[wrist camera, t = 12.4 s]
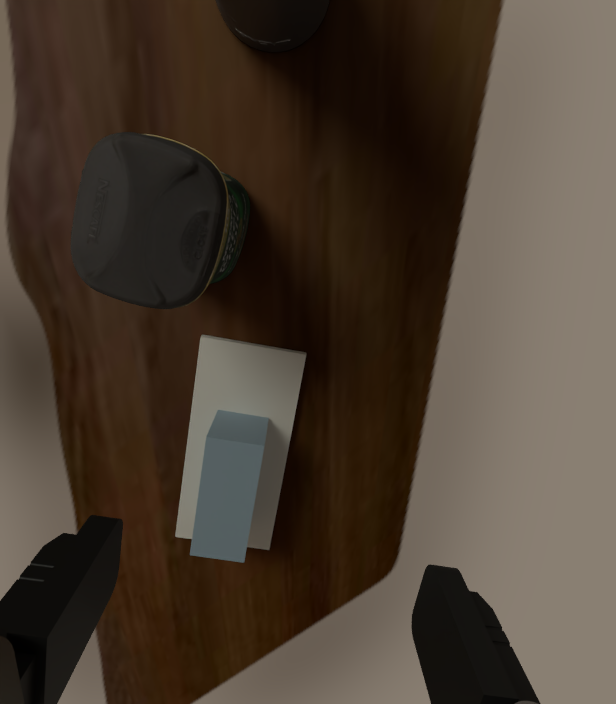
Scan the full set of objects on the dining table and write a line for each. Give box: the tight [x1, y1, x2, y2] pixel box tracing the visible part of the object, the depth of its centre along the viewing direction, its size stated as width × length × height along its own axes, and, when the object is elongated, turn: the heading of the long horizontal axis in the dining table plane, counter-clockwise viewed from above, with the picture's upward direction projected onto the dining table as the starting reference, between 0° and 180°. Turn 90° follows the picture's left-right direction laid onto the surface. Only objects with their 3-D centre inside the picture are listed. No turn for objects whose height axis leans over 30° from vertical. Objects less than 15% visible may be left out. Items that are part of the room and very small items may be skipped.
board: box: [175, 335, 306, 550], centre depth 46 cm, size 22×10×3 cm, turn 170°
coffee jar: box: [71, 132, 250, 309], centre depth 33 cm, size 10×8×19 cm
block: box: [190, 410, 269, 563], centre depth 44 cm, size 12×5×6 cm, turn 170°
